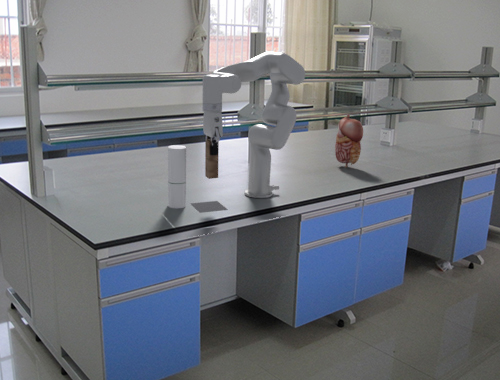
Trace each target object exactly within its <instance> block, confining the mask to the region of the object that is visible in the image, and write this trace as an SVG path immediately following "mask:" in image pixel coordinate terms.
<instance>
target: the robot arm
mask: <svg viewBox="0 0 500 380" xmlns="http://www.w3.org/2000/svg"><path fill="white" fill-rule="evenodd" d="M266 75H269V79H270V83H271V84H270V85H271V92H270V95H269V97H268V98H267V102H266V103H265V105H264V108H263V110H262V112H261V117H260V118H261V121H262V122H263V123H264V124H261V123H257V124H254V125H252V126H251V127H250V128H249V130H248V133H247V134H248V135H247V136H248V139H247V140H248V144H249V160H248V161H249V162H248V163H249V165H248V166H249V167H248V182H247V183H248V184H247V186H248V187H247V189H245V190H244V195H245V196H246V197H249V198H253V199H268V198H271V197H272V196H273V191H279V190H280V185H275V184H271V165H272V154H271V150H276V151H278V150H281V149H283V148H284V147H285V145H286V143H287V142H288V140H289V137H290V135H291V133H292V131H293V130H294V126H295V124H296V122H297V111H296V109H295V108H294V107H293V106H292V105H291V106H290V105H288V103H289V102H290V98H291V96H290V90H289V88H288V85H293V86H294V85H296V86H297V85H301V84H302V83H303V82H304V81H305V78H306V71H305V67H304V66H303V65H302V64H301V63H299V62H298V61H297V60H295V59H294V57H292V56H290V55H289V54H287V53H285V52H278V51H265V52H262V53H260V54H258V55H256V56H254V57H251V58H250V59H248V60H246V61H241V62H238V63H233V64H230V65H226V66H223V67H220V68H219V69H218V68H217V69H216V70H214V71H213V72H211V73H210V74H205V75H203V77H202V112H203V123H202V124H203V125H202V126H203V127H202V129H203V130H202V131H203V134H204V135H205V140H208V139H211V145H210V155H218V156H219V150H218V145H219V142H220V140H221V138H222V137H223V136H224V133H223V132H224V130H223V127H224V126H223V115H222V112H223V94H229V95H230V94H232V95H233V94H236V93H237V92H239V91H240V89H241V88H242V83H250V82H254V81H257V80H258V79H261V78H262V77H264V76H266ZM213 139H214V141H213Z"/></svg>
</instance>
